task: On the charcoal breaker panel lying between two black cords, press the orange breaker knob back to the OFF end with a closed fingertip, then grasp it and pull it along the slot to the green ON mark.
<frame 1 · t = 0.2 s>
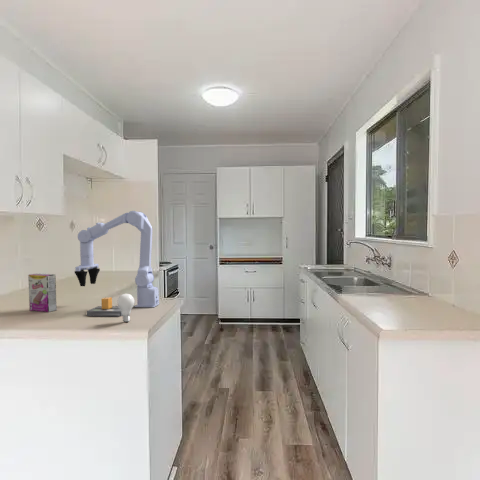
hand: (88, 284, 182), 10 cm above the countertop, tool pointing down, fingers open, 7 cm apart
candy bar box: (43, 311, 174), on the countertop
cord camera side: (105, 316, 160), on the countertop
breaker knob: (106, 303, 166), point 4 cm above the countertop, slide at 0.0 cm
lightbulb: (126, 322, 149), on the countertop
breaker panel: (109, 313, 166), on the countertop
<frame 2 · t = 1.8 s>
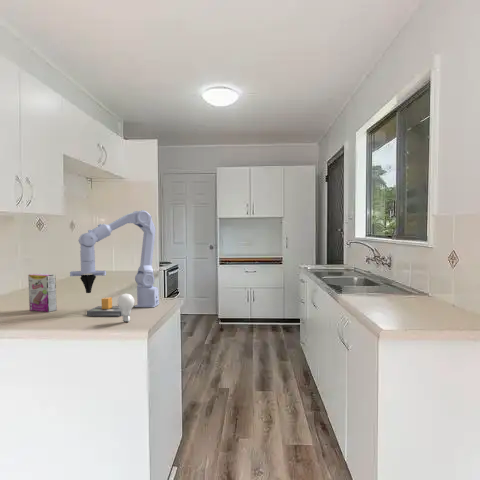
hand: (88, 292, 167), 9 cm above the countertop, tool pointing down, fingers closed
nothing on the countertop moved.
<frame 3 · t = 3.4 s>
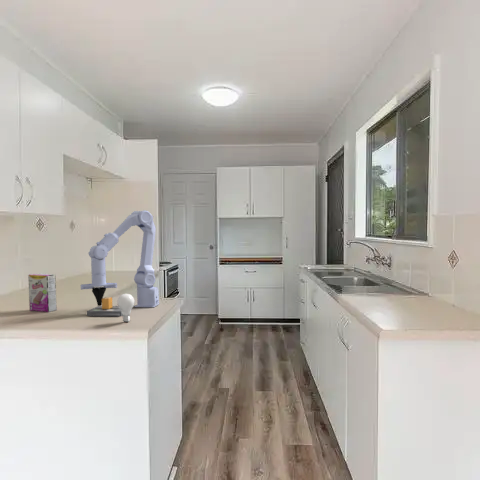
hand: (99, 305, 166), 3 cm above the countertop, tool pointing down, fingers closed
breaker knob: (107, 303, 166), point 4 cm above the countertop, slide at -0.2 cm, touching gripper
everything else where it was.
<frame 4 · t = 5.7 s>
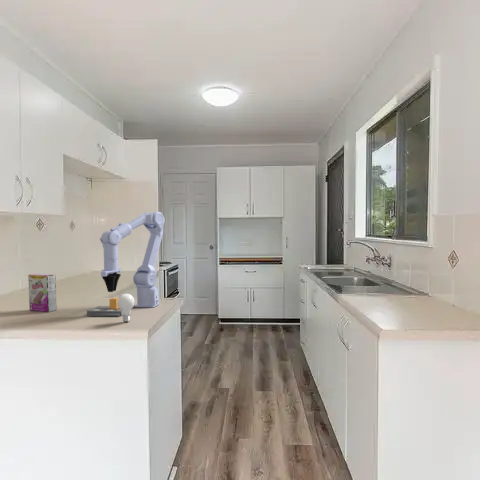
hand: (111, 291, 165), 9 cm above the countertop, tool pointing down, fingers closed
breaker knob: (114, 303, 165), point 4 cm above the countertop, slide at -3.5 cm
everything else where it was.
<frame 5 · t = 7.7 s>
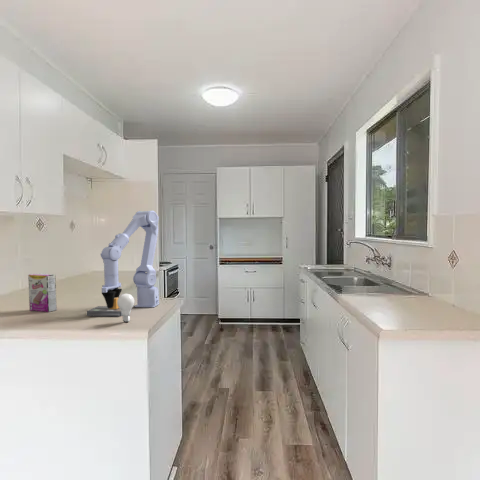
hand: (112, 306, 166), 3 cm above the countertop, tool pointing down, fingers closed on breaker knob, 3 cm apart
breaker knob: (114, 303, 165), point 4 cm above the countertop, slide at -3.5 cm, touching gripper
everything else where it was.
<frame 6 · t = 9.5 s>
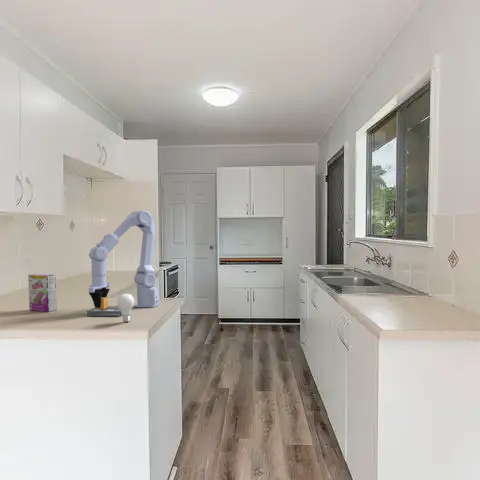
hand: (99, 306, 166), 3 cm above the countertop, tool pointing down, fingers closed on breaker knob, 3 cm apart
breaker knob: (102, 303, 166), point 4 cm above the countertop, slide at 2.0 cm, touching gripper
everything else where it was.
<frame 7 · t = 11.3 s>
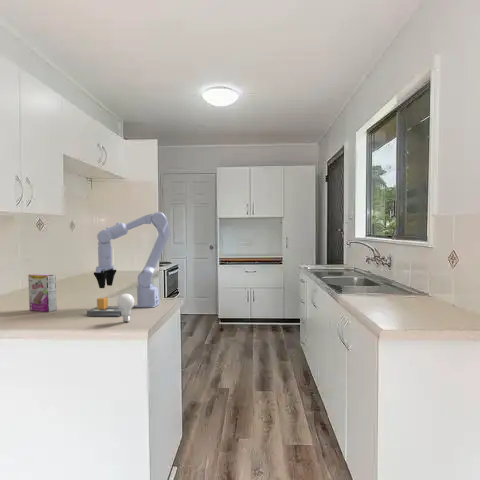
hand: (105, 286, 176), 10 cm above the countertop, tool pointing down, fingers open, 7 cm apart
breaker knob: (102, 303, 166), point 4 cm above the countertop, slide at 2.0 cm
everything else where it was.
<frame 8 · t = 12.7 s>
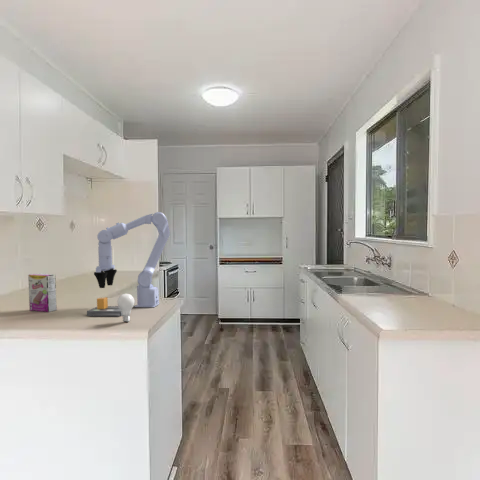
hand: (106, 286, 176), 10 cm above the countertop, tool pointing down, fingers open, 7 cm apart
nothing on the countertop moved.
at the end: breaker knob slide at 2.0 cm; the gripper is holding nothing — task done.
